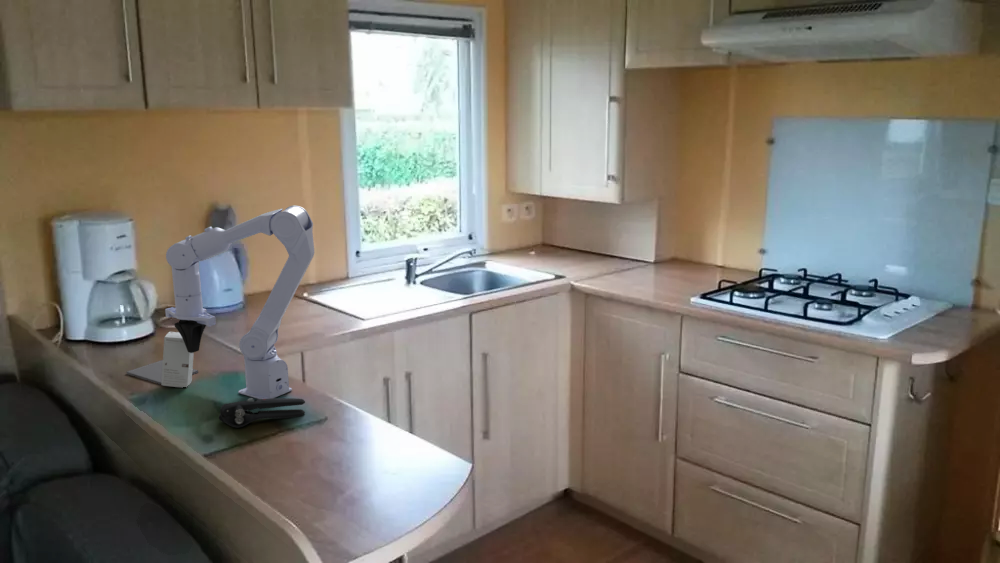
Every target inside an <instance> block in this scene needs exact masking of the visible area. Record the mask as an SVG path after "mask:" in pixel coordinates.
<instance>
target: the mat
mask: <svg viewBox="0 0 1000 563" xmlns="http://www.w3.org/2000/svg"><path fill="white" fill-rule="evenodd" d="M162 368H163V359H161V360H158V361H155V362H151V363H149V364H146V365H143V366H139V367H137V368H133V369H130V370H127V371H126V372H125V373H126V375H128V376H132V377H134V376H135V378H138V379H141V380H144V381H147V380H148V381H147V382H150V381H151V383H154V382H155V383H154V384H157V383H158V384H157V385H160V384H162ZM195 374H199V370H197V369H195V368H193V369H192V376H193V375H195Z"/></svg>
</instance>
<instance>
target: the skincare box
mask: <svg viewBox="0 0 1000 563" xmlns="http://www.w3.org/2000/svg"><path fill="white" fill-rule="evenodd" d="M194 353H195V352H193V353H190V352H188V351H187V348H186V346H185V343H184V341H183V338H182V336H181V334H180V333H179V331H176V332H175V331H169V332H167V333H166V335H165V336H164V337H163V352H162V360H163V368H162V384H161V385H160V386H162V387H163V386H164V387H175V388H183V387H186V388H188V387H189V386H190V384H191V383H192V382H193V381H192V380H193V375H192V369H194V368H193V367H194ZM188 385H189V386H188ZM187 386H188V387H187Z"/></svg>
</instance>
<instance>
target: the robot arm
mask: <svg viewBox="0 0 1000 563" xmlns="http://www.w3.org/2000/svg"><path fill="white" fill-rule="evenodd" d="M313 226H314V222H313V221H312V218H311V217H310V214H309V213H308V210H306V209H305V208H304V207H302V206H300V205H289V206H288V207H286V208H285V209H284V208H279V209H275V210H272V211H271V210H270V211H268V212H265V213H262V214H259V215H258V216H255V217H253V218H251V219H248V220H246V221H243V222H240V223H239V224H236V225H234V226H232V227H230V228H227V229H224V228H220V227H218V226H217V227H216V226H215V227H212V226H208V227H206V228H204V230H203V232H201V233H198V234H195V235H188V236H185V239H182V240H180V241H178V242H175V243H173V244H172V245H171V246H170V247H168V249H167V250H166V253H165V259H166V262H167V263H168V265H169V266H170V267H171V275H172V284H173V285H172V286H173V295H174V306H175V307H173V306H171V307H168V308H165V309H164V312H165V317H166V318H175V319H177V320H178V322H175V323H174V327H175V329H176V330H177V332H179V333H180V334H181V336H182V338H183V341H184V343H185V346H186V348H187V351H188V352H190V353H193V352H194V353H196V352H199V351H200V346H201V341H202V336H203V334H204V331H205V329H206V327H213V326H215V325H216V324H217V322H216V316H214V315H212V314H210V313H208V312H207V309H206V308H204V304H203V295H202V294H203V293H202V285H201V284H202V283H201V275H200V265H199V264H200V263H199V262H204V261H206V260H208V259H210V258H214V257H215V256H219V255H221V254H223V253H226V252H228V251H229V249H230V246H231V244H232V243H235V242H238V241H241V240H244V239H247V238H249V237H252V236H255V235H257V234H261V233H262V234H264V235H267V236H272V235H274V236H275V238H276V239H278V241H279V242H280V243H281V244H282V245H283V247H284V248H285V250H286V252H287V254H288V257H287V259H286V262H285V264H284V266H283V268H282V269H281V271H280V274H279V275H278V278H277V279H276V282H275V284H274V286H273V287H272V289H271V292H270V293H269V295H268V298H267V299H266V301H265V304H264V305H263V307H262V309H261V312H260V313H259V316H258V317H257V319H256V320H255V321H254V322H253V324H252V326H251V328H250V330H249V331H248V332H246V333H245V334H244V335H243V336H241V338H240V340H239V344H238V346H239V347H238V348H239V350H240V352H241V354H242V355H243V362H244V375H245V384H246V387H245V388H242V389H239V390H238V394H241V395H244V396H247V397H249V398H253V399H256V400H258V399H273V398H277V397H279V396H282V395H284V394H287V393H289V392H291V391H293V388H292V387H290V381H289V369H288V368H289V367H288V364H287V362H286V361H285V360H284V359H282V358H280V357H279V355H278V354H277V352H278V351H277V349H276V346H275V344H276V343H277V342H278V339H279V328H280V326H281V323H282V319H283V317H284V315H285V313H286V311H287V309H288V307H289V305H290V303H291V301H292V299H293V298H294V296H295V294H296V292H297V289H298V288H299V286H300V284H301V282H302V281H303V278H304V276H305V274H306V272H307V270H308V268H309V266H310V265H311V262H312V260H313V258H314V256H315V245H314V244H315V242H314V233H313V228H314V227H313Z"/></svg>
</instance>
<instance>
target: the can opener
mask: <svg viewBox="0 0 1000 563" xmlns="http://www.w3.org/2000/svg"><path fill="white" fill-rule="evenodd" d="M305 403H306V400H304V399H303V398H292V397H291V398H289V397H286V398H285V397H283V398H281V397H279V398H277V397H275V398H273V399H255V398H254V397H249V398H248V399H247V400H242V401H235V402H234V401H233V402H229V403H223V405H221V407H220V408H219V415H218V420H219V421H220V422H221V423H225V424H227V426H230V427H232V428H236V429H237V428H243V427H245V426H247V425H248V424H250V423H252V422H254V421H258V420H263V419H264V420H265V419H291V418H297V417H301V416H304V415H305V413H306V412H305V410H303V409H273V410H264V409H271V408H281V407H283V408H284V407H293V406H301V405H304V404H305ZM257 409H258V410H259V411H257V412H253V411H254V410H257ZM262 409H263V410H262ZM252 410H253V411H252ZM303 414H304V415H303Z"/></svg>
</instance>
